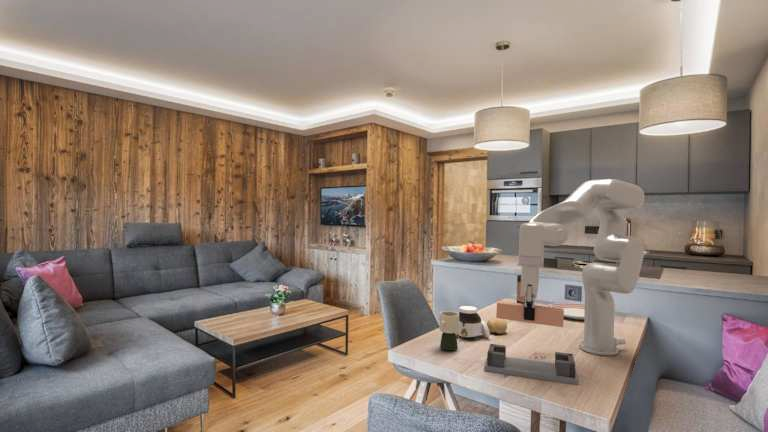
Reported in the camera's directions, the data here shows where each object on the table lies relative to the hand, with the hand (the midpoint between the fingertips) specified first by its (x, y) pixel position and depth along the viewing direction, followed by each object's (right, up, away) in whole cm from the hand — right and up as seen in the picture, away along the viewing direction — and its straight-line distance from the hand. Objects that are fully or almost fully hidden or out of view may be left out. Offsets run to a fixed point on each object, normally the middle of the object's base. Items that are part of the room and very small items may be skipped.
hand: (529, 317), depth 127 cm
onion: (0, -16, +35) cm, 39 cm away
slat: (0, -1, 0) cm, 1 cm away
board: (-1, -16, -3) cm, 16 cm away
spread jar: (-12, -15, +30) cm, 35 cm away
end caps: (-1, -14, -3) cm, 15 cm away
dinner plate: (+46, -16, +64) cm, 81 cm away
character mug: (-23, -16, +15) cm, 32 cm away
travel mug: (+19, -15, +56) cm, 61 cm away
